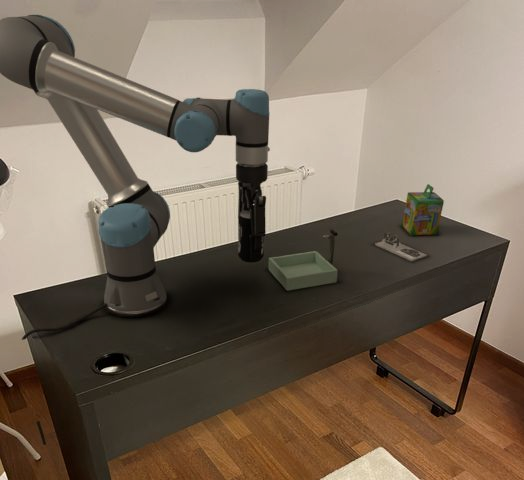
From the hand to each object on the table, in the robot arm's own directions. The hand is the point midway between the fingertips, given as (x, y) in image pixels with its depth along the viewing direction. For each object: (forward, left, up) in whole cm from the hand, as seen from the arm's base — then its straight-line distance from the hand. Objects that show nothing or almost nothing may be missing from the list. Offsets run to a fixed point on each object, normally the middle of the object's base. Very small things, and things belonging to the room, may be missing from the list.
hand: (250, 254), depth 136 cm
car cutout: (+50, +6, -9) cm, 51 cm away
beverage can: (0, 0, -1) cm, 1 cm away
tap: (+23, 0, -9) cm, 25 cm away
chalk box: (+65, +18, -9) cm, 68 cm away
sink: (+15, 0, -9) cm, 17 cm away
